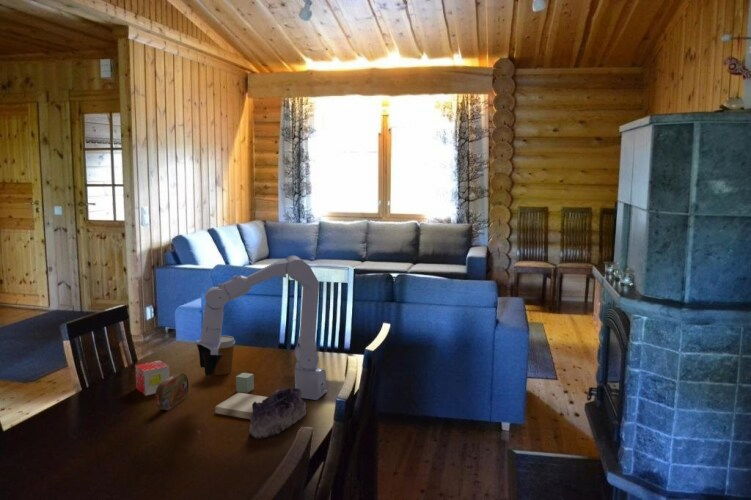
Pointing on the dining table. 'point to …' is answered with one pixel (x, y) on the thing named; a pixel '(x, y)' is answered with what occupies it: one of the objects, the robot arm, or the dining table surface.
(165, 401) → the tin
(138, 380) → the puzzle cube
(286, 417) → the geode
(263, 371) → the dining table surface
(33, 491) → the dining table surface
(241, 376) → the block
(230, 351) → the disposable coffee cup
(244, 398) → the slab
